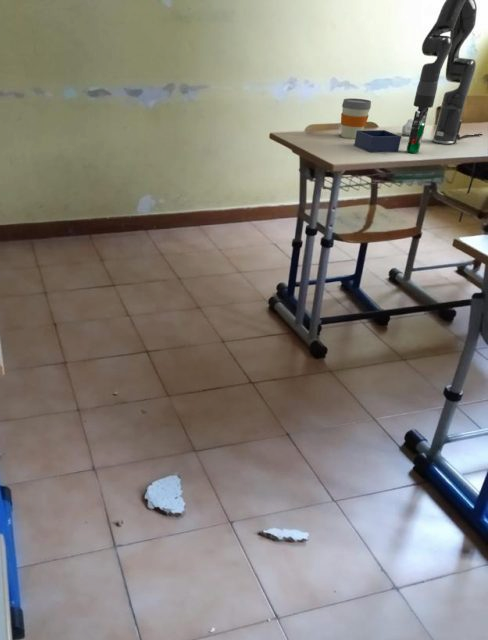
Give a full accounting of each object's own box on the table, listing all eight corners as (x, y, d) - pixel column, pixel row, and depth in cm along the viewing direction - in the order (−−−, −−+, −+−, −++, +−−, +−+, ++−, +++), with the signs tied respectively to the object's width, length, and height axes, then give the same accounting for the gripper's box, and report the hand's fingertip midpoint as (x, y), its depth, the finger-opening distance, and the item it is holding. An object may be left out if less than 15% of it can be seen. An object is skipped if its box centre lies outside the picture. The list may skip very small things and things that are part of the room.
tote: (381, 144, 265) (384, 130, 262) (398, 151, 254) (401, 136, 251) (354, 145, 262) (356, 130, 258) (369, 152, 251) (372, 137, 248)
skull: (396, 128, 283) (409, 108, 283) (400, 142, 289) (414, 122, 290) (410, 130, 278) (424, 109, 278) (415, 144, 284) (429, 123, 285)
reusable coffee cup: (340, 139, 272) (346, 102, 263) (334, 133, 282) (340, 97, 274) (368, 139, 272) (375, 103, 264) (360, 134, 283) (367, 98, 274)
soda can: (419, 154, 251) (426, 122, 245) (406, 153, 252) (413, 121, 245) (417, 151, 255) (425, 120, 249) (405, 150, 256) (412, 119, 249)
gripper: (431, 96, 235) (421, 141, 244) (438, 92, 245) (428, 135, 254) (412, 94, 238) (402, 138, 247) (420, 90, 248) (410, 133, 257)
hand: (415, 136), depth 250 cm, fingers open, 8 cm apart
